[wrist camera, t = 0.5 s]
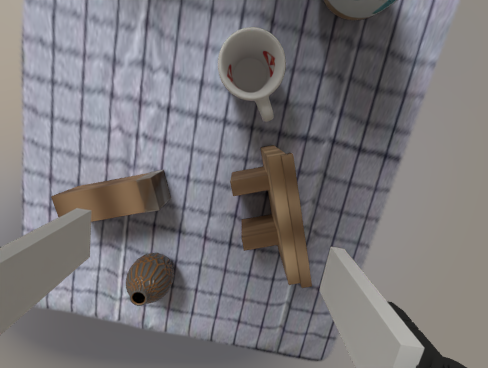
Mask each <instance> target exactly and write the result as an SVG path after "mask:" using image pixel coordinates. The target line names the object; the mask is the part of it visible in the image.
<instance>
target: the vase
mask: <svg viewBox="0 0 488 368" xmlns="http://www.w3.org/2000/svg"><path fill="white" fill-rule="evenodd" d="M173 279H174V267H173V264H172V262H171V261H170V260H169V258H167V257H166V256H165V255H163V254H160V253H149V254H146V255H144V256H142V257H140V258H139V259H138V260H137V261H136V262H135V263H134V264H133V265H132V266H131V268H130V269H129V272H128V274H127V278H126V289H127V292H128V294H129V296H130V300H131V302H132V303H133V304H134V305H137V306H141V305H144V304H149V303H153V302H156V301H158V300H159V299H161V298H162V297H163V296H164V295H165V294H166V293H167V292H168V291H169V289H170V287H171V285H172V283H173Z"/></svg>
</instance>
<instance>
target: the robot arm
mask: <svg viewBox="0 0 488 368" xmlns="http://www.w3.org/2000/svg"><path fill="white" fill-rule="evenodd" d="M90 235H91V210H85V209H79V208H76V209H74V210H72V211H70V212H69V213H67V214H65V215H63V216H61V217H59V218H57V219H55V220H53V221H51V222H49V223H47V224H45V225H43V226H41V227H39V228H37V229H35V230H34V231H32V232H30V233H28V234H26V235H24V236H22V237H20V238H18V239H16V240H14V241H12V242H10V243H8V244H6V245H5V246H3V247H0V335H1V334H2V333H3V332H5V331H6V330H7V329H8V328H9V327H10V326H11V325H12V324H14V323H15V322H16V321H17V320H18V319H19V318H20V317H22V316H23V315H24V314H25V313H26V312H27V311H28V310H30V309H31V308H32V307H33V306H34V305H35V304H37V303H38V302H39V301H40V300H41V299H42V298H43V297H45V296H46V295H47V294H48V293H49V292H50V291H51V290H53V289H54V288H55V287H56V286H57V285H58V284H59V283H61V282H62V281H63V280H64V279H65V278H66V277H67V276H69V275H70V274H71V273H72V272H73V271H74V270H75V269H77V268H78V267H79V266H80V265H81V264H82V263H83V262H84V261H86V260H87V259H88V258H89V257H90ZM320 292H321V295H322V297H323V299H324V301H325V303H326V305H327V308H328V310H329V312H330V314H331V316H332V318H333V321H334V323H335V325H336V327H337V329H338V331H339V334H340V336H341V338H342V340H343V342H344V344H345V347H346V348H347V351H348V353H349V355H350V357H351V359H352V362H353V364H354V366H355V368H466V367H465V366H463V365H462V364H460V363H458V362H456V361H454V360H452V359H450V358H446V357H443V356H442V355H441V354H440V353H439V352H438V351H437V349H436V348H435V347H434V346H433V345H432V344H431V342H430V341H429V340H428V339H427V338H426V337H425V336H424V334H423V333H422V332H421V331H420V330H418V327H417V326H416V325H415V324H414V323H413V322H412V321H411V319H410V318H409V317H408V316H407V315H406V313H405V312H404V311H403V310H402V309H400V308H399V307H398V306H396V305H395V304H394V303H392V302H387V301H386V300H385V299H384V297H383V296H382V295H381V294H380V292H379V291H378V290H377V289H376V288H375V286H374V285H373V284H372V283H371V282H370V280H369V279H368V278H367V276H366V275H365V274H364V273H363V271H362V270H361V269H360V268H359V267H358V265H357V264H356V263H355V262H354V260H353V259H352V258H351V257H350V255H349V254H348V253H347V252H346V251H345V249H342V248H336V247H330V251H329V255H328V259H327V263H326V267H325V271H324V274H323V278H322V282H321V286H320Z"/></svg>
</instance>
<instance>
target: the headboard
mask: <svg viewBox="0 0 488 368" xmlns="http://www.w3.org/2000/svg"><path fill="white" fill-rule="evenodd" d="M261 154H262V160H263V166H264V167H258V168H253V169H247V170H242V171H236V172H232V176H231V181H230V183H231V188H232V193H233V196H237V195H243V194H249V193H254V192H260V191H265V190H268V195H269V201H270V207H271V213H272V214H270V215H264V216H259V217H253V218H247V219H242V242H243V247H244V251H245V250H251V249H256V248H262V247H268V246H274V245H277V246H278V249H279V252H280V256H281V259H282V263H283V266H284V270H285V273H286V277H287V280H288V284H289V285H291V284H297V283H300V284H301V287H302V288H305V287H311V286H312V283H311V276H310V269H309V262H308V255H307V248H306V241H305V234H304V227H303V220H302V213H301V206H300V199H299V192H298V185H297V178H296V171H295V164H294V157H293V154H292V153H288V154H285V153H284V152H282V151H281V150H280V149H278V148H277V147H275V146H274V145H271V146H266V147H261Z"/></svg>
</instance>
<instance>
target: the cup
mask: <svg viewBox="0 0 488 368" xmlns="http://www.w3.org/2000/svg"><path fill="white" fill-rule="evenodd" d="M285 69H286V58H285V53H284V50H283V48H282V46H281V44H280V42H279V41H278V40H277V38H276V37H275V36H273V35H272V34H271V33H270V32H268V31H266V30H264V29H261V28H255V27H249V28H244V29H241V30H238V31H236V32H235V33H233V34H232V35H231V36H230V37H229V38H228V39H227V40H226V41H225V43H224V44H223V46H222V48H221V50H220V53H219V58H218V71H219V75H220V78H221V81H222V83H223V84H224V86H225V87H226V89H227V90H228V91H229V92H230V93H231V94H233V95H234V96H236V97H238V98H240V99H243V100H247V101H255V102H256V104H257V107H258V110H259V113H260V115H261V118H262V120H263V121H264V122H268V121H271V120H272V119H273V117H274V115H273V110H272V107H271V103H270V100H269V96H270V95H271V94H272V93H273V92H274V91H275V90H276V89H277V88H278V87H279V85H280V84H281V82H282V80H283V77H284V74H285Z"/></svg>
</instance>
